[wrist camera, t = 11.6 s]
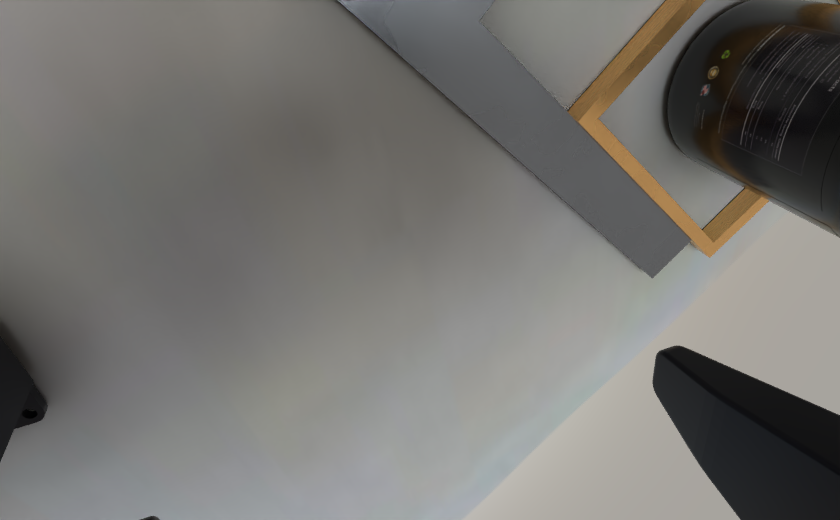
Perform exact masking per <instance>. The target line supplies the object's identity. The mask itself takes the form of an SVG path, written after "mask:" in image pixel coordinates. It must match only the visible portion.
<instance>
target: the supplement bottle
mask: <svg viewBox="0 0 840 520" xmlns="http://www.w3.org/2000/svg"><path fill="white" fill-rule="evenodd" d="M667 115H668V123H669V128H670V131H671V134H672V137H673V139H674V141H675V143H676V144H677V146H678V147H679V148H680V150H681V151H682V152H683V153H684V154H685V155H686V156H688V157H689V158H691V159H692V160H694V161H695V162H697V163H699V164H701V165H703V166H704V167H706V168H708V169H710V170H712V171H713V172H715V173H717V174H719V175H721V176H723V177H725V178H727V179H729V180H731V181H733V182H734V183H736V184H738V185H740V186H742V187H744V188H746V189H748V190H750V191H752V192H753V193H755V194H757V195H759V196H761V197H763V198H765V199H767V200H769V201H771V202H773V203H774V204H776V205H778V206H780V207H782V208H784V209H786V210H788V211H790V212H792V213H794V214H795V215H797V216H799V217H801V218H803V219H805V220H807V221H809V222H811V223H813V224H815V225H816V226H819V227H820V228H822V229H824V230H826V231H828V232H830V233H832V234H834V235H836V236H838V237H839V238H840V5H835V4H828V3H821V2H813V1H806V0H749V1H747V2H744V3H741V4H739V5H737V6H735V7H733V8H731V9H729V10H728V11H726V12H724V13H723V14H721V15H720V16H719V17H717V18H716V19H715V20H714V21H712V22H711V23H710V24H709V25H708V26H707V27H706V28H705V29H704V30H703V31H702V32H701V33H700V34H699V35H698V36H697V37H696V39H695V40H694V41H693V42H692V44H691V45H690V46H689V48H688V49H687V51H686V52H685V54H684V56H683V57H682V59H681V61H680V63H679V65H678V67H677V69H676V72H675V74H674V77H673V80H672V83H671V87H670V91H669V96H668V105H667Z"/></svg>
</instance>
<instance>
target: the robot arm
mask: <svg viewBox="0 0 840 520" xmlns="http://www.w3.org/2000/svg"><path fill="white" fill-rule="evenodd" d="M653 387H654V391H655V393H656V395H657V397H658V398H659V400H660V402H661V403H662V405H663V407H664V408H665V410H666V411H667V413H668V415H669V416H670V418H671V420H672V421H673V423H674V425H675V426H676V428H677V429H678V431H679V433H680V434H681V436H682V438H683V439H684V441H685V442H686V444H687V446H688V448H689V449H690V451H691V452H692V454H693V456H694V457H695V459H696V460H697V461H698V463H699V465H700V466H701V468H702V469H703V470H704V472H705V473H706V475H707V476H708V477H709V479H710V480H711V481H712V483H713V484H714V485H715V486H716V488H717V489H718V490H719V492H720V493H721V494H722V496H723V497H724V498H725V500H726V501H727V502H728V504H729V505H730V506H731V508H732V509H733V510H734V512H735V513H736V514H737V516H738V517H739V518H740V519H741V520H840V415H838V414H836V413H833V412H831V411H829V410H826V409H824V408H822V407H820V406H817V405H815V404H813V403H810V402H808V401H806V400H803V399H801V398H799V397H797V396H795V395H792V394H790V393H788V392H785V391H783V390H781V389H779V388H776V387H774V386H772V385H769V384H767V383H765V382H762V381H760V380H758V379H756V378H753V377H751V376H749V375H747V374H744V373H742V372H740V371H738V370H735V369H733V368H731V367H728V366H726V365H723V364H721V363H719V362H717V361H714V360H712V359H710V358H708V357H706V356H703V355H701V354H699V353H696V352H694V351H692V350H690V349H687V348H685V347H682V346H673V347H670V348H667V349H664V350H661V351H659V352H658V353H657V355H656V359H655V367H654V374H653ZM47 407H48V405H47V403H46V401H45V400H44V399H43V397H42V396H41V395H40V393H39V392H38V391H37V389H36V388H35V387H34V385H33V380H32V378H31V377H30V376H29V374H28V373H27V371H26V370H25V369H24V367H23V366H22V365H21V363H20V362H19V361H18V359H17V358H16V357H15V355H14V354H13V353H12V351H11V350H10V349H9V347H8V346H7V345H6V343H5V342H4V341H3V339H2V338H1V337H0V461H1V459H2V457H3V454H4V452H5V449H6V447H7V445H8V442H9V440H10V438H11V435H12V433H13V430H14V429H16V428H19V427H22V426H26V425H29V424H33V423H36V422H38V421H41V420H42V419H43V418H44V416H45V413H46V411H47ZM27 409H33V410H35V411H29V410H27ZM141 520H160V519H159V518H158V517H156V516H150V517H147V518H144V519H141Z"/></svg>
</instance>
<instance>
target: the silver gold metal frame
mask: <svg viewBox="0 0 840 520" xmlns="http://www.w3.org/2000/svg"><path fill="white" fill-rule="evenodd" d="M338 1H339V2H340V3H341V4H342V5H343V6H345V7H346V8H347V9H348V10H349V11H350V12H351V13H352V14H354V15H355V16H356V17H357V18H358V19H359V20H360V21H361V22H363V23H364V24H365V25H366V26H367V27H368V28H369V29H371V30H372V31H373V32H374V33H375V34H376V35H377V36H378V37H380V38H381V39H382V40H383V41H384V42H385V43H386V44H388V45H389V46H390V47H391V48H392V49H393V50H394V51H395V52H397V53H398V54H399V55H400V56H401V57H402V58H403V59H404V60H406V61H407V62H408V63H409V64H410V65H411V66H412V67H414V68H415V69H416V70H417V71H418V72H419V73H420V74H421V75H423V76H424V77H425V78H426V79H427V80H428V81H429V82H431V83H432V84H433V85H434V86H435V87H436V88H437V89H438V90H440V91H441V92H442V93H443V94H444V95H445V96H446V97H447V98H449V99H450V100H451V101H452V102H453V103H454V104H455V105H457V106H458V107H459V108H460V109H461V110H462V111H463V112H464V113H466V114H467V115H468V116H469V117H470V118H471V119H472V120H473V121H475V122H476V123H477V124H478V125H479V126H480V127H481V128H483V129H484V130H485V131H486V132H487V133H488V134H489V135H490V136H492V137H493V138H494V139H495V140H496V141H497V142H498V143H500V144H501V145H502V146H503V147H504V148H505V149H506V150H507V151H509V152H510V153H511V154H512V155H513V156H514V157H515V158H516V159H518V160H519V161H520V162H521V163H522V164H523V165H524V166H526V167H527V168H528V169H529V170H530V171H531V172H532V173H533V174H535V175H536V176H537V177H538V178H539V179H540V180H541V181H543V182H544V183H545V184H546V185H547V186H548V187H549V188H550V189H552V190H553V191H554V192H555V193H556V194H557V195H558V196H559V197H561V198H562V199H563V200H564V201H565V202H566V203H567V204H569V205H570V206H571V207H572V208H573V209H574V210H575V211H576V212H578V213H579V214H580V215H581V216H582V217H583V218H584V219H586V220H587V221H588V222H589V223H590V224H591V225H592V226H593V227H595V228H596V229H597V230H598V231H599V232H600V233H601V234H602V235H604V236H605V237H606V238H607V239H608V240H609V241H610V242H612V243H613V244H614V245H615V246H616V247H617V248H618V249H619V250H621V251H622V252H623V253H624V254H625V255H626V256H627V257H628V258H630V259H631V260H632V261H633V262H634V263H635V264H636V265H638V266H639V267H640V268H641V269H642V270H643V271H644V272H646V273H647V274H648V275H649V276H650V277H651V278H653V277H654V276H655V275H656V274H657V273H659V272H660V271H661V270H662V269H663V268H664V267H665V266H666V265H667V264H668V263H669V262H670V261H671V260H672V259H673V258H674V257H675V256H676V255H677V254H678V253H679V252H680V251H681V250H682V249H683V248H684V247H685V246H686V245H687V244H688V243H689V242H690V243H691V244H692V245H693V246H694V247H695V248H697V249H698V250H699V251H701V252H702V253H704V254H705V255H706V256H708V257H709V258H710V257H711V256H712V255H713V254H714V253H715V252H716V251H717V250H718V249H719V248H720V247H722V246H723V245H724V244H725V243H726V242H727V241H728V240H729V239H730V238H731V237H732V236H733V235H734V234H735V233H736V232H737V231H738V230H739V229H740V228H741V227H742V226H743V225H745V224H746V223H747V222H748V221H749V220H750V219H751V218H752V217H753V216H754V215H755V214H756V213H757V212H758V211H759V210H760V209H761V208H762V207H763V206H764V205H765V204H766V203H767V202H769V200H767V199H765V198H763V197H761V196H759V195H757V194H755V193H753V192H752V191H750V190H748V189H746V188H745V189H744V190H743V191H742V192H741V193H740V194H739V195H738V196H737V197H736V198H735V199H734V200H733V201H732V202H731V203H730V204H728V205H727V206H726V207H725V208H724V209H723V210H722V211H721V212H720V213H719V214H718V215H717V216H716V217H715V218H714V219H713V220H712V221H711V222H710V223H709V224H708V225H707V226H706V227H705V228H704V229H703V230H701V229H700V228H699V227H698V226H697V224H696V223H695V222H694V221H693V220H692V219H691V218H690V217H689V216H688V215H687V214H686V213H685V212H684V210H683V209H682V208H681V207H680V206H679V205H678V204H677V203H676V202H675V201H674V200H673V199H672V198H671V196H670V195H669V194H668V193H667V192H666V191H665V190H664V189H663V188H662V187H661V186H660V185H659V184H658V182H657V181H656V180H655V179H654V178H653V177H652V176H651V175H650V174H649V173H648V172H647V171H646V170H645V168H644V167H643V166H642V165H641V164H640V163H639V162H638V161H637V160H636V159H635V158H634V157H633V156H632V155H631V153H630V152H629V151H628V150H627V149H626V148H625V147H624V146H623V145H622V144H621V143H620V142H619V141H618V139H617V138H616V137H615V136H614V135H613V134H612V133H611V132H610V131H609V130H608V129H607V128H606V127H605V125H604V124H603V123H602V122H601V121H600V120H599V119H598V118H599V117H600V116H601V115H602V114H603V113H604V112H605V111H606V109H607V108H608V107H609V106H610V105H611V104H612V103H613V102H614V101H615V99H616V98H617V97H618V96H619V95H620V94H621V93H622V92H623V91H624V90H625V88H626V87H627V86H628V85H629V84H630V83H631V82H632V81H633V80H634V79H635V77H636V76H637V75H638V74H639V73H640V72H641V71H642V70H643V69H644V67H645V66H646V65H647V64H648V63H649V62H650V61H651V60H652V59H653V58H654V56H655V55H656V54H657V53H658V52H659V51H660V50H661V49H662V48H663V47H664V45H665V44H666V43H667V42H668V41H669V40H670V39H671V38H672V37H673V35H674V34H675V33H676V32H677V31H678V30H679V29H680V28H681V27H682V26H683V24H684V23H685V22H686V21H687V20H688V19H689V18H690V17H691V16H692V15H693V13H694V12H695V11H696V10H697V9H698V8H699V7H700V6H701V5H702V3H703V2H704V1H705V0H666V1H665V2H664V3H663V4H662V5H661V7H660V8H659V9H658V10H657V11H656V12H655V13H654V14H653V16H652V17H651V18H650V19H649V20H648V21H647V22H646V23H645V25H644V26H643V27H642V28H641V29H640V30H639V31H638V32H637V34H636V35H635V36H634V37H633V38H632V39H631V40H630V41H629V43H628V44H627V45H626V46H625V47H624V48H623V49H622V51H621V52H620V53H619V54H618V55H617V56H616V57H615V58H614V60H613V61H612V62H611V63H610V64H609V65H608V66H607V67H606V69H605V70H604V71H603V72H602V73H601V74H600V75H599V76H598V78H597V79H596V80H595V81H594V82H593V83H592V84H591V85H590V87H589V88H588V89H587V90H586V91H585V92H584V93H583V94H582V96H581V97H580V98H579V99H578V100H577V101H576V102H575V104H574V105H573V106H572V107H571V108H570V109H569V110H568V111H566V110H565V109H564V108H563V107H562V106H561V105H560V104H559V103H558V102H557V101H556V100H555V99H554V98H553V97H552V95H551V94H550V93H549V92H548V91H547V90H546V89H545V88H544V87H543V86H542V85H541V84H540V83H539V82H538V81H537V80H536V79H535V78H534V77H533V76H532V75H531V74H530V73H529V72H528V71H527V70H526V69H525V68H524V67H523V66H522V65H521V63H520V62H519V61H518V60H517V59H516V58H515V57H514V56H513V55H512V54H511V53H510V52H509V51H508V50H507V49H506V48H505V47H504V46H503V45H502V44H501V43H500V42H499V41H498V40H497V39H496V38H495V37H494V36H493V35H492V34H491V32H490V31H489V30H488V29H487V28H486V27H485V26H484V25H483V24H482V23H481V22H480V21H479V20H480V19H481V17H482V16H483V15H484V14H485V12H486V11H487V10H488V9H489V7H490V6H491V5H492V4H493V2H494V1H495V0H338ZM838 2H839V4H840V0H838Z"/></svg>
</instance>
